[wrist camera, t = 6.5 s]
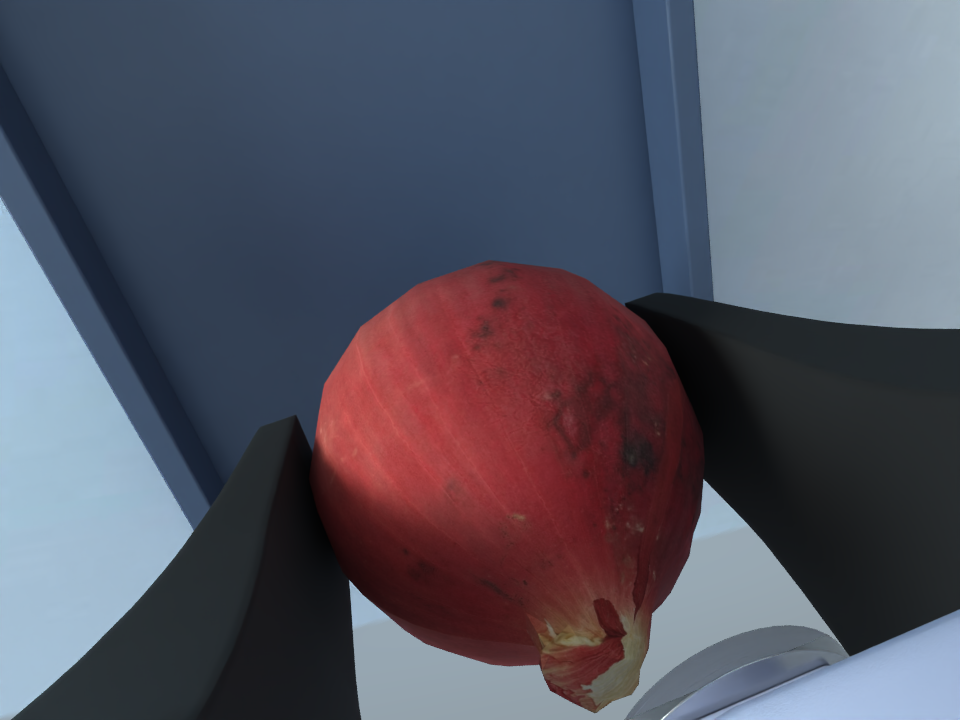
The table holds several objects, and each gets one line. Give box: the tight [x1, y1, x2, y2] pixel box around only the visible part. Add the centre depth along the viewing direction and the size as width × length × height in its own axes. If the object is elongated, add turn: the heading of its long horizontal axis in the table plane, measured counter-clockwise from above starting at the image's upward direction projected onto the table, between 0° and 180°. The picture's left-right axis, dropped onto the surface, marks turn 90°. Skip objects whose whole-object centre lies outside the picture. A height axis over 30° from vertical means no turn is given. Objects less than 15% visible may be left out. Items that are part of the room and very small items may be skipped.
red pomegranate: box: [309, 260, 705, 713], centre depth 10 cm, size 6×6×8 cm
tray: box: [0, 0, 714, 530], centre depth 14 cm, size 15×13×2 cm
